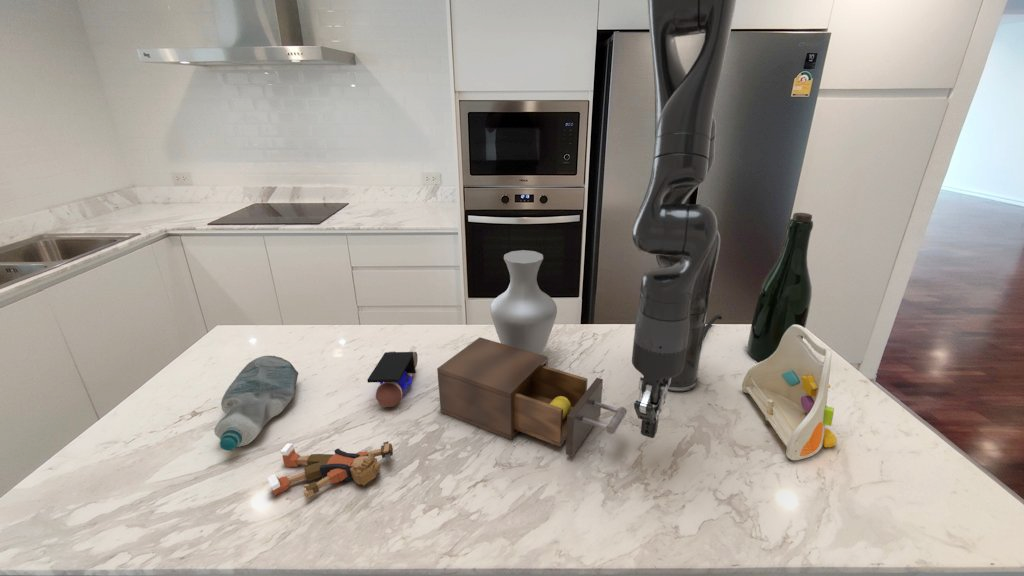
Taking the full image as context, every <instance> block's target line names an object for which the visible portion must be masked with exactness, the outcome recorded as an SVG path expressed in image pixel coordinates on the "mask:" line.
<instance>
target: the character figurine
mask: <svg viewBox="0 0 1024 576" xmlns="http://www.w3.org/2000/svg"><path fill="white" fill-rule="evenodd" d="M280 454H281V456H282V461H283V463H284V466H285V467H286V468H287V467H288V468H289V467H291V468H297V467H299V466H300V465H303V466H304V465H305V466H306V467H304V468H303V469H304V470H303V471H302V472H300V473H297V474H294V475H292V476H289V477H288V476H281V477H278V476H277V474H276V473H273V474H272V475H269V476H268V477H267V481H268V484H269V486H270V488H271V490H272V493H273V495H274V496H277V495H279V494H281V493H283V492H285V491H288V490H289V489H290V487H291V485H292V484H295V483H299V482H301V481H305V480H306V481H307V482H309V481H313V480H314V481H313V482H311V483H305V484H303V488H304V490H303V491H302V492H303V496H304V497H305V498H306V499H310V498H311V497H312V496H313V495H316V494H317V493H319V492H320V489H323V488H324V487H326V486H327V485H329V484H331V485H333V484H338V483H339V482H342V481H344V482H348V481H350V480H351V479H352V480H353V481H354V482H355V483H356V484H357V485H362V486H365V485H367V484H369V483H370V482H371V481H372V480H374V479H375V478H376V477H377V475H378V474H379V473H380V472H381V465H380V462H378V458H377V457H379V456H381V458H382V459H384V458H385V459H384V460H385V462H389V461H391V460H392V456H394V448H393V444H392V443H390V442H389V441H385V442H382V445H380V448H378V449H374V450H370V451H365V450H364V451H358V452H355V453H354V452H353V453H352V452H347V451H344V450H341V449H340V448H336V449H334V454H331V453H330V454H329V453H311V454H310V455H309V454H307V455H302V456H301V455H300V454H299V453H296V450H295V447H294V444H293V443H286V444H285V446H284V447H283V448H282V449H281V450H280ZM321 477H322V478H321ZM319 478H321V479H319ZM316 479H319V480H318V481H315V480H316Z"/></svg>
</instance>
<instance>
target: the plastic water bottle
mask: <svg viewBox="0 0 1024 576" xmlns="http://www.w3.org/2000/svg"><path fill="white" fill-rule="evenodd" d="M298 378H299V372H298V371H297V370H296V368H295V367H294V365H293V364H292V363H291V361H289V360H287V359H285V358H283V357H280V356H276V355H261V356H258V357H256V358H254V359H253V360H251V361H250V362H248V363H247V364H246V365H245V367H244V368H242V369H241V371H240V372H239V373H238V374H237V376H236V377H235V379H234V380H233V381H232V382H231V384H230V385H229V386H228V387H227V389H226V391H225V392H224V395H223V396H222V398H221V402H220V403H221V404H220V406H221V410H222V411H223V412H224V413H225V416H223V417H222V418H221V419H219V421H218V423H217V424H215V427H214V429H213V432H214V435H215V436H216V437H217V438H218V439H219V440H220V441H219V446H220V448H221V449H223V450H224V451H233V450H234V449H235V448H237V447H244V446H245V447H246V446H248V445H249V444H250V443H252V442H253V441H254V440H255V439H256V438H257V437H258V435H259V434H260V433H261V431H262V430H263V429H264V427H265V425H266V424H267V423H268V422H269V421H270V420H271V419H273V418H274V417H276V416H278V415H279V414H281V413H282V412H283V411H284V410H285V409H286V407H287V406H288V405H289V403H290V402H291V400H292V399H293V398H294V397H295V394H296V388H297V382H298Z"/></svg>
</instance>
